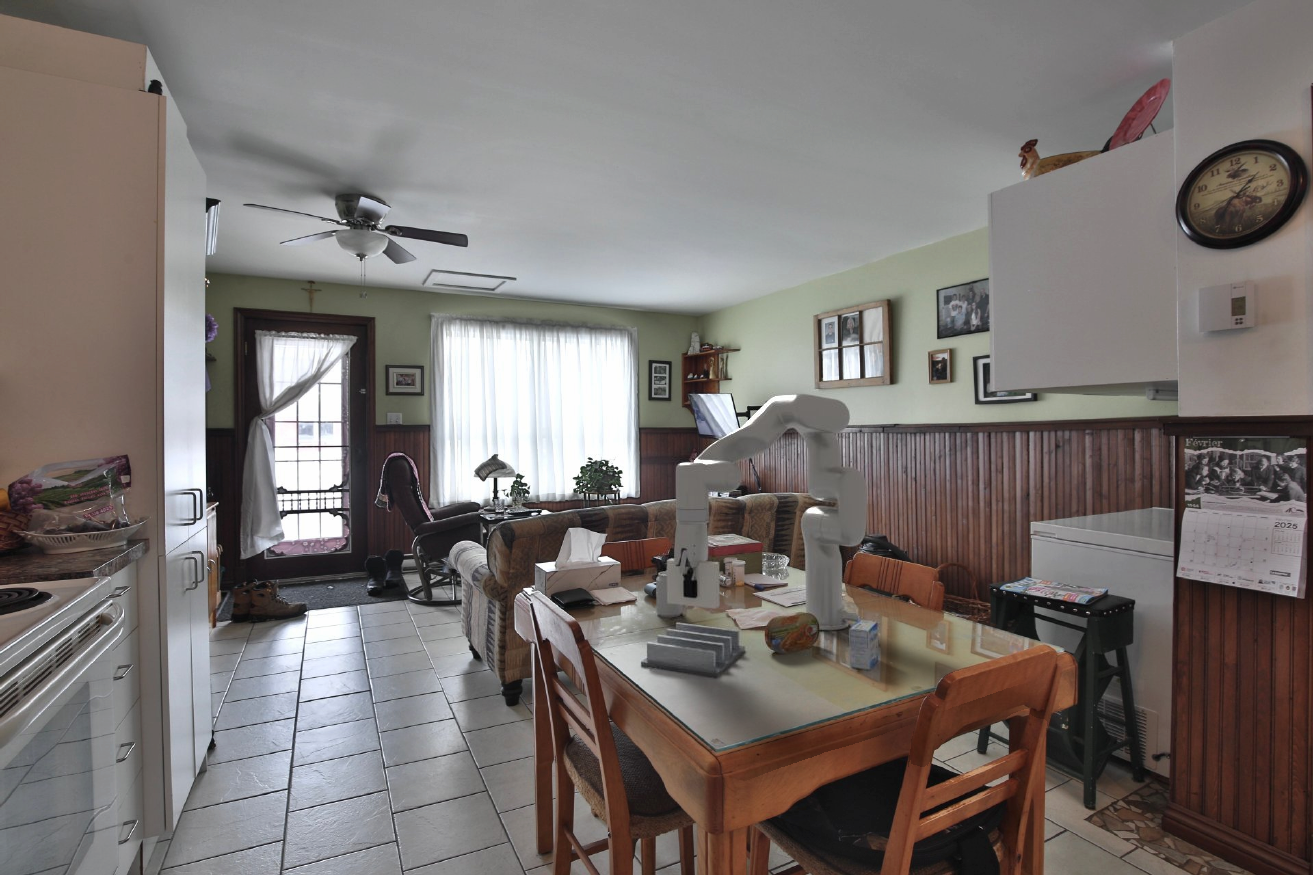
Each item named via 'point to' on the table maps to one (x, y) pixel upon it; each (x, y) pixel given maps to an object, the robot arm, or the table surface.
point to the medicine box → (863, 644)
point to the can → (665, 598)
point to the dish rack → (694, 650)
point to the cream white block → (705, 585)
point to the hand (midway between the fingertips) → (693, 594)
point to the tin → (792, 632)
